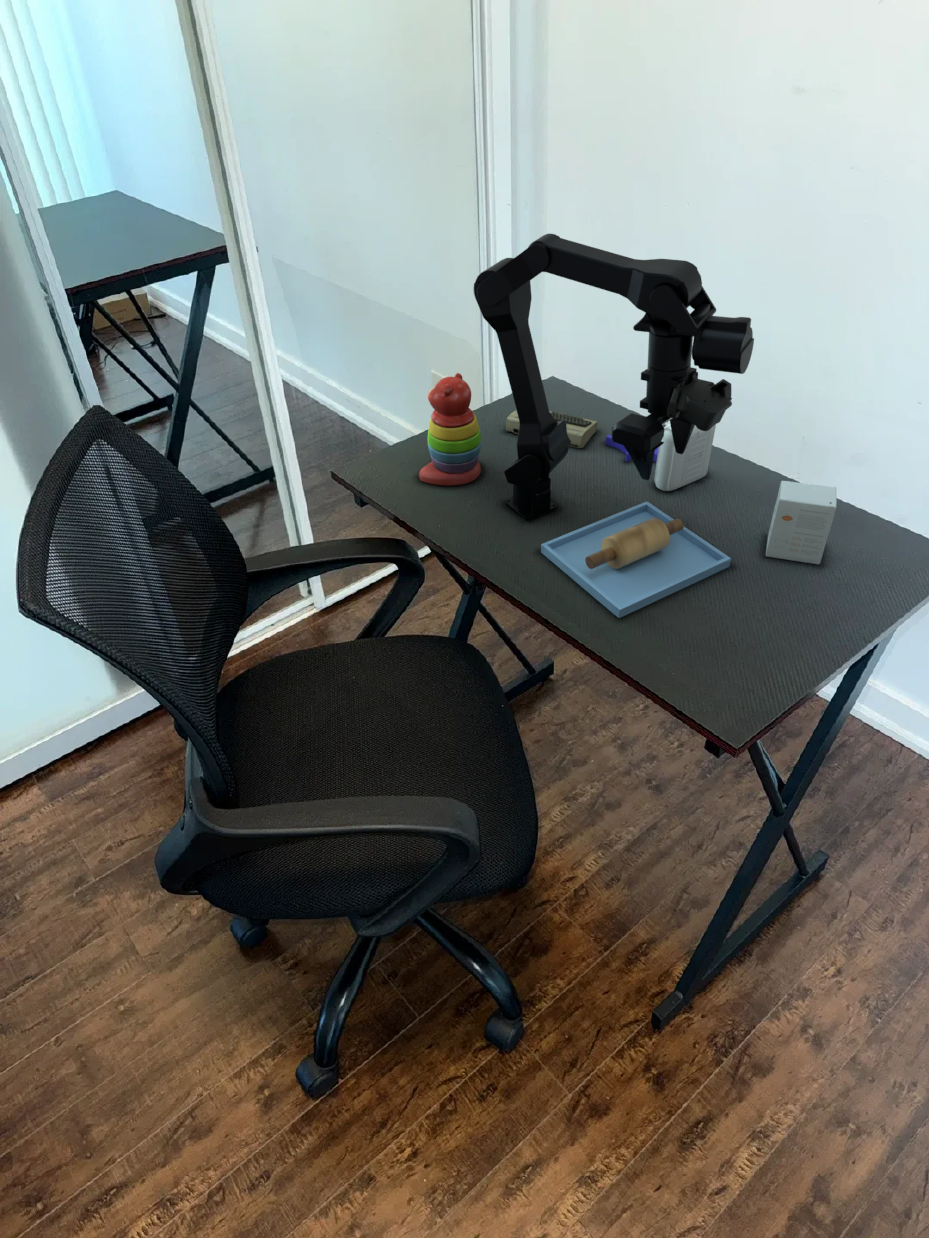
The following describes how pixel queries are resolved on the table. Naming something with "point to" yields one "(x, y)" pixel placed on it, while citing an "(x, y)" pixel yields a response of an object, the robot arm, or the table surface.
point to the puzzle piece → (621, 447)
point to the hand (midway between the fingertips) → (663, 466)
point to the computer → (576, 426)
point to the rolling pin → (634, 543)
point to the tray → (641, 578)
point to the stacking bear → (452, 435)
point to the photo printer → (683, 459)
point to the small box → (801, 522)
